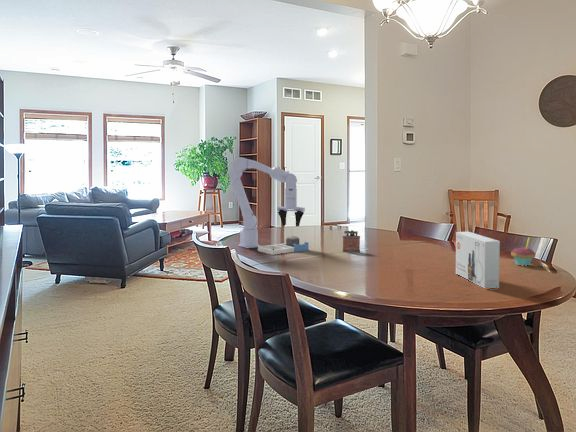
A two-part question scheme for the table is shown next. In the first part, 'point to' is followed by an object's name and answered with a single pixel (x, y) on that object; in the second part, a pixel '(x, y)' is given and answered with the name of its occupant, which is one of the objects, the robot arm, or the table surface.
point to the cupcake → (523, 255)
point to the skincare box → (478, 259)
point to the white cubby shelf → (283, 248)
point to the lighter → (351, 242)
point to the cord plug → (292, 241)
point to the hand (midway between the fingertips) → (290, 225)
